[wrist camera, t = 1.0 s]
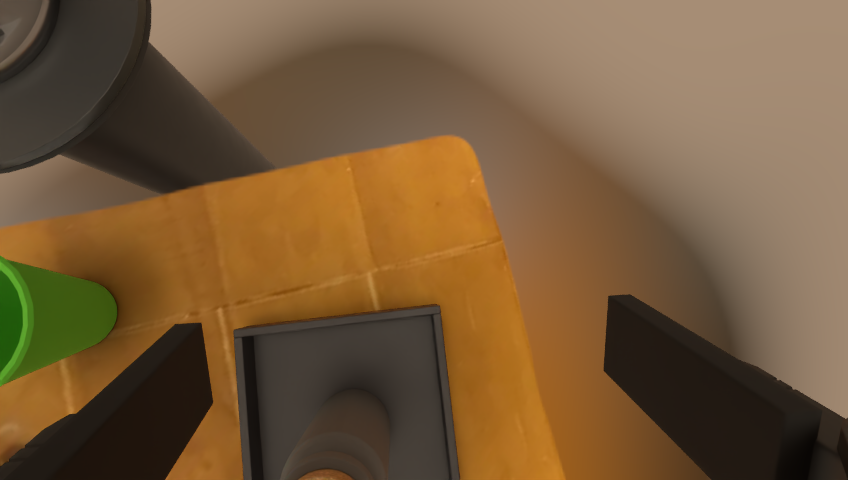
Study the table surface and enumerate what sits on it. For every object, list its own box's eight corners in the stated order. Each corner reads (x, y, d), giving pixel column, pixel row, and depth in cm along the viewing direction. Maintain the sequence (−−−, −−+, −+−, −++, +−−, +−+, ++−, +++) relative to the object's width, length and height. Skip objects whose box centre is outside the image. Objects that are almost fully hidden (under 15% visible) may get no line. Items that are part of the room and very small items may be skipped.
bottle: (351, 483, 34) (315, 636, 19) (298, 427, 34) (221, 536, 19) (406, 425, 35) (412, 530, 20) (353, 372, 35) (320, 435, 20)
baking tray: (248, 325, 35) (232, 329, 32) (436, 303, 36) (439, 305, 33) (264, 553, 34) (250, 582, 30) (461, 523, 35) (467, 547, 31)
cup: (124, 384, 34) (-4, 429, 23) (7, 357, 34) (-176, 390, 23) (159, 272, 35) (53, 265, 25) (47, 244, 35) (-111, 225, 24)
